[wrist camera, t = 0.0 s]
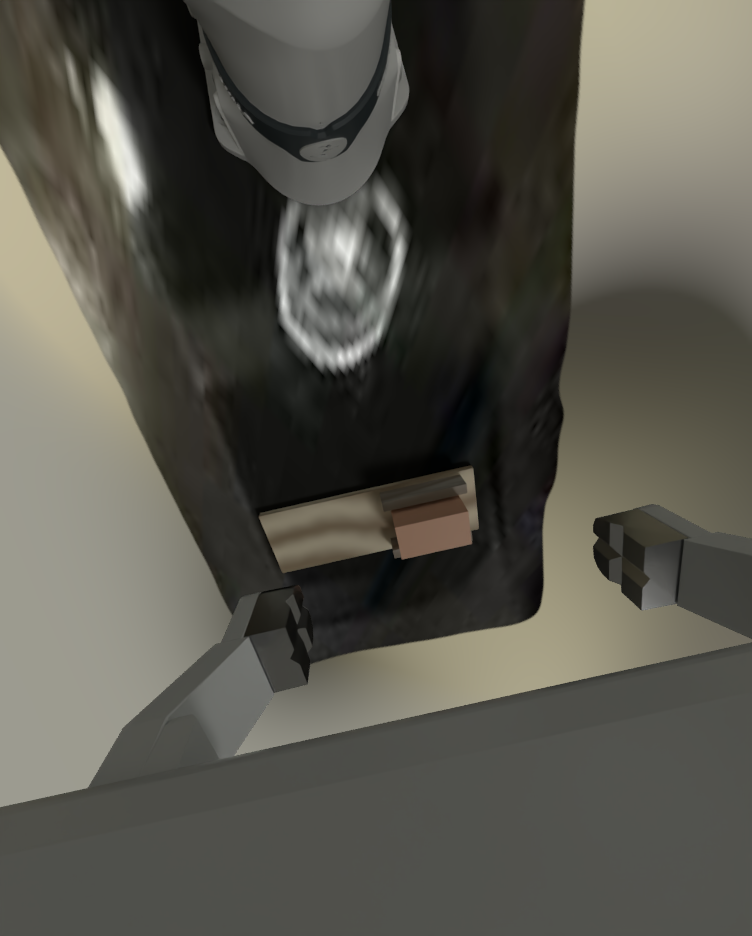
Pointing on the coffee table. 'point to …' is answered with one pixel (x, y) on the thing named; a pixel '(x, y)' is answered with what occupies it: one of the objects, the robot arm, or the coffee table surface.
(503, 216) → the coffee table surface
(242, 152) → the robot arm
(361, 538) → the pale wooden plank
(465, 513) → the terracotta block
